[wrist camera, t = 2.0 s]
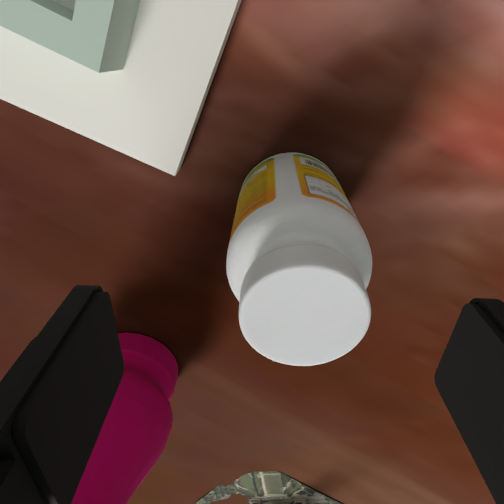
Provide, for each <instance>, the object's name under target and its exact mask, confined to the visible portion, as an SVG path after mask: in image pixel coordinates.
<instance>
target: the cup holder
mask: <svg viewBox="0 0 504 504" xmlns="http://www.w3.org/2000/svg"><path fill="white" fill-rule="evenodd" d="M241 1H242V0H0V99H2V100H5V101H7V102H9V103H11V104H14V105H16V106H18V107H20V108H23V109H25V110H27V111H29V112H32V113H34V114H36V115H38V116H41V117H43V118H45V119H47V120H50V121H52V122H54V123H56V124H59V125H61V126H63V127H65V128H68V129H70V130H72V131H74V132H77V133H79V134H81V135H83V136H86V137H88V138H90V139H92V140H95V141H97V142H99V143H101V144H104V145H106V146H108V147H110V148H113V149H115V150H117V151H119V152H122V153H124V154H126V155H128V156H131V157H133V158H135V159H137V160H140V161H142V162H144V163H146V164H149V165H151V166H153V167H155V168H158V169H160V170H162V171H164V172H167V173H169V174H171V175H173V176H175V175H176V174H177V173H178V171H179V170H180V168H181V166H182V163H183V160H184V157H185V155H186V152H187V149H188V146H189V144H190V141H191V138H192V135H193V133H194V130H195V127H196V124H197V122H198V119H199V116H200V113H201V111H202V108H203V105H204V102H205V100H206V97H207V94H208V91H209V89H210V86H211V83H212V81H213V78H214V75H215V72H216V70H217V67H218V64H219V61H220V59H221V56H222V53H223V50H224V48H225V45H226V42H227V39H228V37H229V34H230V31H231V28H232V26H233V23H234V20H235V17H236V15H237V12H238V9H239V6H240V4H241Z"/></svg>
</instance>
